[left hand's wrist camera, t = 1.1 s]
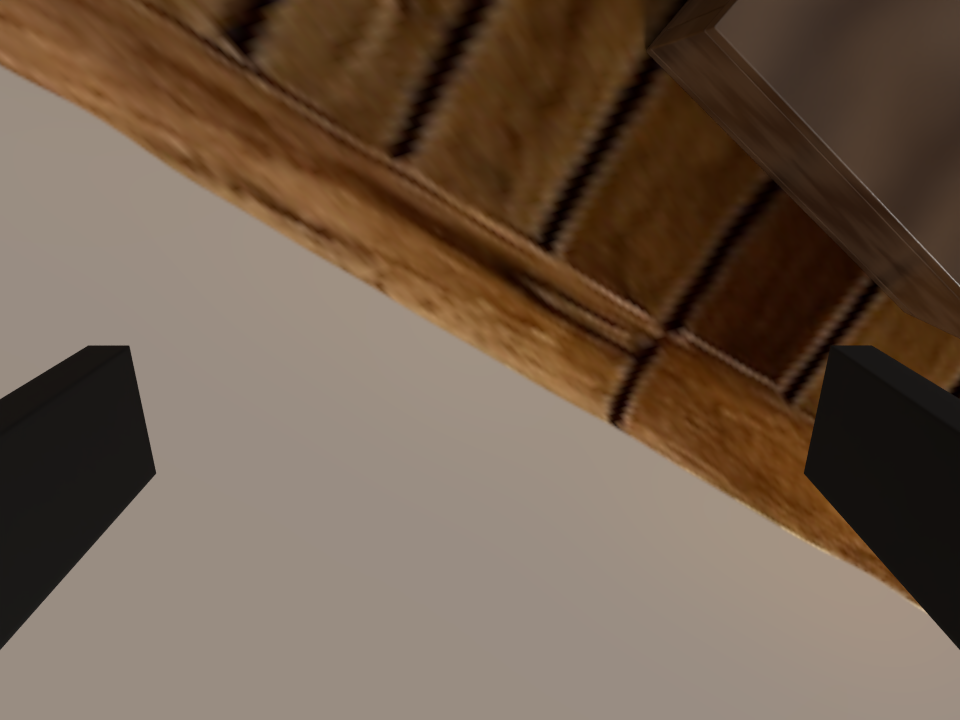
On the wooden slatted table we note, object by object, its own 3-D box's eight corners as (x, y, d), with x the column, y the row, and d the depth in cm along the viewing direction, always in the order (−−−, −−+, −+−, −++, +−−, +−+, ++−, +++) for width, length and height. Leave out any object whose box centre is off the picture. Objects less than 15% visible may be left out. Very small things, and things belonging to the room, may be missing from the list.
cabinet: (1095, 142, 32) (1333, 154, 23) (904, 312, 35) (1048, 381, 27) (839, -180, 28) (1012, -318, 19) (644, 50, 31) (713, 26, 22)
